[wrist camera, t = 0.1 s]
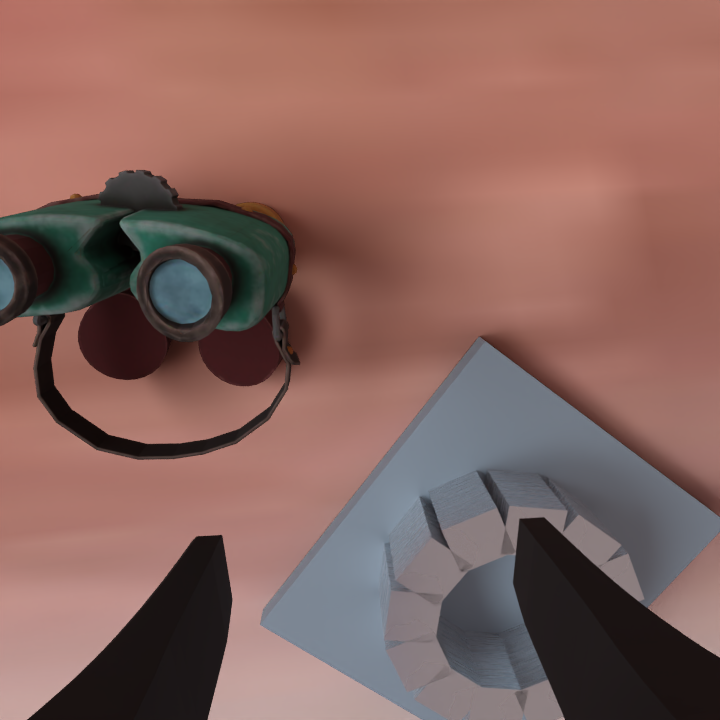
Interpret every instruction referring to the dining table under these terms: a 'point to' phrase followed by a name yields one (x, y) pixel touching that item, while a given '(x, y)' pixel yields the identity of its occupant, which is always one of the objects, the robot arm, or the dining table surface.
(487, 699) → the segmented white ring
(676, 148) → the dining table surface
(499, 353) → the mount plate
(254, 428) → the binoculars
